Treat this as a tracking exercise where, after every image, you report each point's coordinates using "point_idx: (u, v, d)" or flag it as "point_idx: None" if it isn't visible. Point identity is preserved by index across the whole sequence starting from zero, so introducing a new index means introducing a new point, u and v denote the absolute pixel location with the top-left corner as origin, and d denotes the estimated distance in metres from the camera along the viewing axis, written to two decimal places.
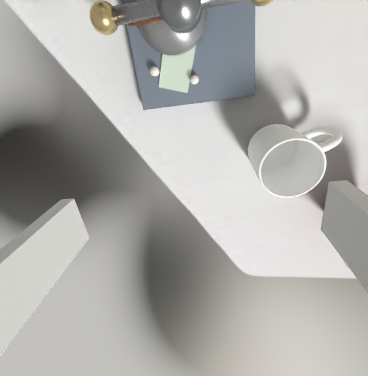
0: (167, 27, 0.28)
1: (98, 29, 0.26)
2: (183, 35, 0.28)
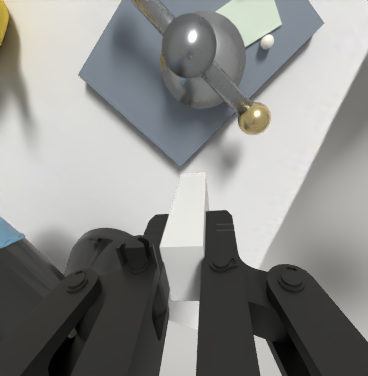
0: (216, 57, 0.23)
1: (269, 116, 0.21)
2: None
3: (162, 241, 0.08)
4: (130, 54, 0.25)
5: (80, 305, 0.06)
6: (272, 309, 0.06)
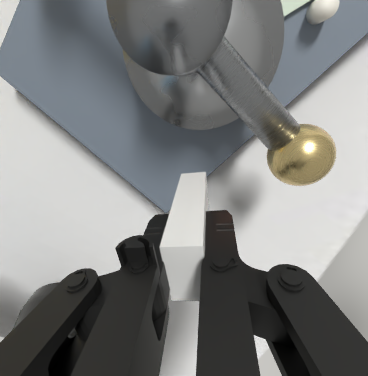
0: (226, 36, 0.12)
1: (335, 154, 0.11)
2: None
3: (162, 241, 0.08)
4: (75, 33, 0.14)
5: (80, 305, 0.06)
6: (272, 309, 0.06)
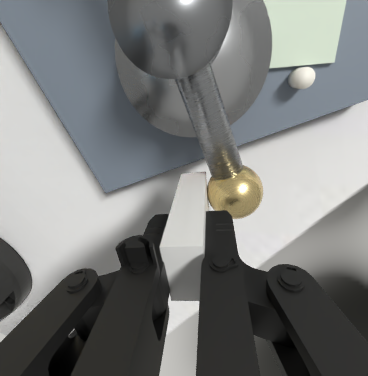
0: (217, 60, 0.13)
1: (259, 203, 0.12)
2: None
3: (162, 241, 0.08)
4: None
5: (80, 305, 0.06)
6: (272, 309, 0.06)
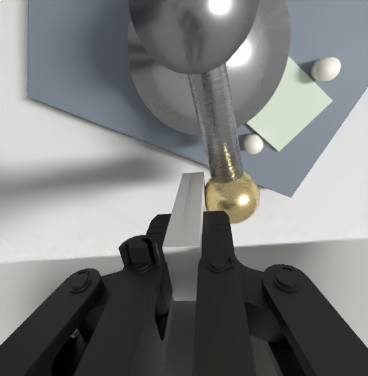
0: (232, 61, 0.12)
1: (254, 210, 0.12)
2: None
3: (165, 241, 0.08)
4: None
5: (83, 305, 0.06)
6: (267, 309, 0.06)
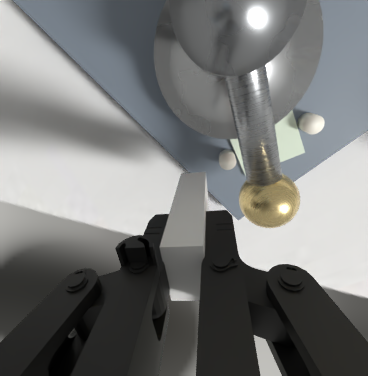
0: None
1: (295, 213, 0.12)
2: None
3: (162, 241, 0.08)
4: None
5: (80, 305, 0.06)
6: (272, 309, 0.06)
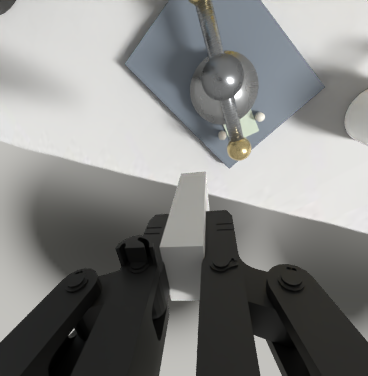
0: None
1: (249, 152, 0.29)
2: None
3: (162, 241, 0.08)
4: (226, 13, 0.27)
5: (80, 305, 0.06)
6: (272, 309, 0.06)
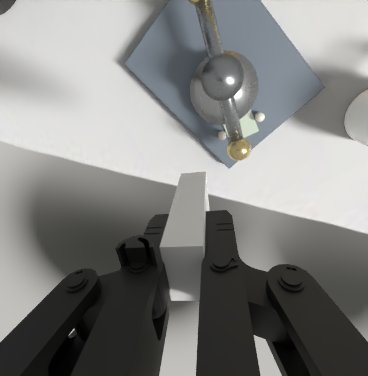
0: None
1: (249, 153, 0.29)
2: None
3: (162, 241, 0.08)
4: (225, 13, 0.27)
5: (80, 305, 0.06)
6: (272, 309, 0.06)
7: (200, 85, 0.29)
